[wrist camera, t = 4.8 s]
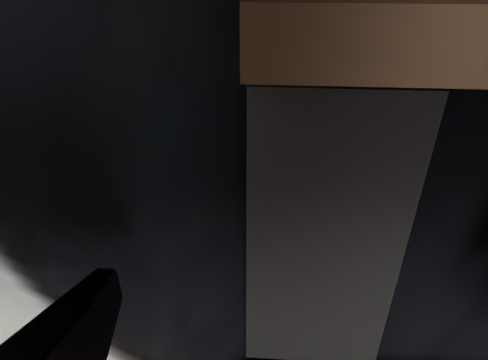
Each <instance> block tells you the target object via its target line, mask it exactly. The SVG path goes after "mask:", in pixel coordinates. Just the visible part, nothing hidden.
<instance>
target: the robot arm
mask: <svg viewBox="0 0 488 360" xmlns="http://www.w3.org/2000/svg"><path fill="white" fill-rule="evenodd" d="M121 302H122V291H121V287H120V283H119V279H118V275H117V272H116V270H115V269H111V268H98V269H96V270H94V271H93V272H92V273H91V274H89V275H88V276H87V277H86V278H84V279H83V280H82V281H80V282H79V283H78V284H77V285H75V286H74V287H73V288H72V289H70V290H69V291H68V292H67V293H65V294H64V295H63V296H61V297H60V298H59V299H58V300H56V301H55V302H54V303H53V304H51V305H50V306H49V307H48V308H46V309H45V310H44V311H42V312H41V313H40V314H39V315H37V316H36V317H35V318H34V319H32V320H31V321H30V322H29V323H27V324H26V325H25V326H24V327H22V328H21V329H20V330H18V331H17V332H16V333H15V334H13V335H12V336H11V337H10V338H8V339H7V340H6V341H5V342H3V343H2V344H1V345H0V360H107V356H108V353H109V349H110V345H111V341H112V337H113V333H114V330H115V326H116V322H117V318H118V314H119V310H120V307H121Z"/></svg>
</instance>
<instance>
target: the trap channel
mask: <svg viewBox="0 0 488 360" xmlns="http://www.w3.org/2000/svg"><path fill="white" fill-rule="evenodd" d="M240 84H247V170H246V357H248V358H264V359H281V360H376V357H377V353H378V349H379V346H380V342H381V338H382V335H383V331H384V328H385V324H386V320H387V317H388V313H389V309H390V306H391V302H392V298H393V295H394V291H395V287H396V284H397V280H398V276H399V273H400V269H401V266H402V262H403V258H404V255H405V251H406V247H407V244H408V240H409V236H410V233H411V229H412V225H413V222H414V218H415V215H416V211H417V207H418V204H419V200H420V196H421V193H422V189H423V185H424V182H425V178H426V174H427V171H428V167H429V163H430V160H431V156H432V153H433V149H434V145H435V142H436V138H437V134H438V131H439V127H440V123H441V120H442V116H443V112H444V109H445V105H446V101H447V98H448V94H449V90H447V89H488V0H241V1H240Z"/></svg>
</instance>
